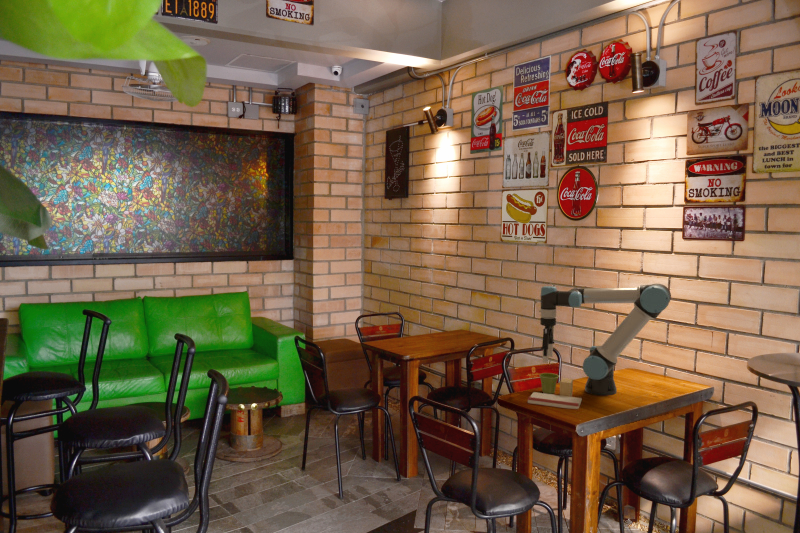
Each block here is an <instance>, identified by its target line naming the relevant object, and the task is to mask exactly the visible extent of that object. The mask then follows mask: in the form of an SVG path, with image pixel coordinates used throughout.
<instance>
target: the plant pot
mask: <svg viewBox="0 0 800 533" xmlns="http://www.w3.org/2000/svg"><path fill="white" fill-rule="evenodd" d="M538 376H539V378H540V382H541V391H542V392H543V393H545V394H553V395H554V394H555V393H556V387H557V382H558V379H559V376H560V375H558V374H557V373H552V372H542V373H539V375H538ZM542 392H541V393H542Z"/></svg>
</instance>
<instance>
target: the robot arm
mask: <svg viewBox="0 0 800 533" xmlns="http://www.w3.org/2000/svg"><path fill="white" fill-rule="evenodd" d="M671 298H672V294H671V291H670V288H668V287H667V286H666V285H664V284H661V283H652V284H641V285H638V286H637V287H604V288H603V287H602V288H601V287H600V288H599V287H597V288H595V287H594V288H578V287H574V288H571V289H569V290H565V291H564V290H563V291H562V290H558V288H557V286H551V285H546V286H545V285H544V286H542V287H541V288H540V310H539V312H540V326H544V328H543V329H542V330H543V332H542V333H543V334H542V344H541V347H540V350H542V363H546V364H549V358H552V357H553V353H554V344H555V341H554V330H553V329H554V328H553V327H555V326H556V325H557V318H556V317H557V307H564V308H565V307H567V308H568V307H569V308H580V307H582V304H633V309H632V310H631V311H630V312H629V313H628V315H626V317H625V318H624V319H623V320H622V321H621V323H619V325H618V326H617V327H616V328H615V330H614V331H613V332H612V333H611V334H610V335H609V337H608V338H606V340H605V341H604V342H603V344H602V345H591V346H590V348H589V355H588V356H587V357H585V359H583V362H582V369H583V373H584V374H585V376H587V379H586V383H585V385H584V391H585V392H586V393H587V394H590V395H592V396H593V395H594V396H604V397H606V396H612V395H613V396H614V395H615V394H617V392H618V391H617V386H616V383H615V382H616V381H615V380H614V379H615V378H614V377H615V376H614V373H615V371H614V370H615V366H616V364H617V363H618V357H619V356H620V354H621V353H623V351H624V350H625V349H626V348H627V346H629V344H630V343H631V342H632V341H633V340H634V339H635V337H636V336H637V335H638V334H639V332H641V331H642V330H643V328H644V327H645V326H646V325H647V324H648V323H649V321H650V320H656V319H657V318H658V316H660V315H661V313H662V312H663V311H665V310H666V309H667V308H668V306H669V303H670V302H671Z"/></svg>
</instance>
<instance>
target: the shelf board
mask: <svg viewBox="0 0 800 533" xmlns="http://www.w3.org/2000/svg"><path fill="white" fill-rule="evenodd" d="M582 400H583V399H582V397H575V396H572V397H569V396H561V395H560V394H554V393H553V394H552V393H550V394H547V393H544V392H543V393H542V392H536V391H533V392H532V394H531V395H530V396H528V397H527V404H534V405H540V406H541V405H542V406H549V407H555V408H563V409H569V410H570V409H571V410H572V409H573V410H579V408H580V406H581V403H582Z"/></svg>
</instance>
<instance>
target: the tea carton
mask: <svg viewBox="0 0 800 533" xmlns="http://www.w3.org/2000/svg"><path fill="white" fill-rule="evenodd" d="M573 385H574V379H573V378H565V377H562V378H561V380H559V395H561V396H569V397H573V387H574V386H573Z"/></svg>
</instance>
